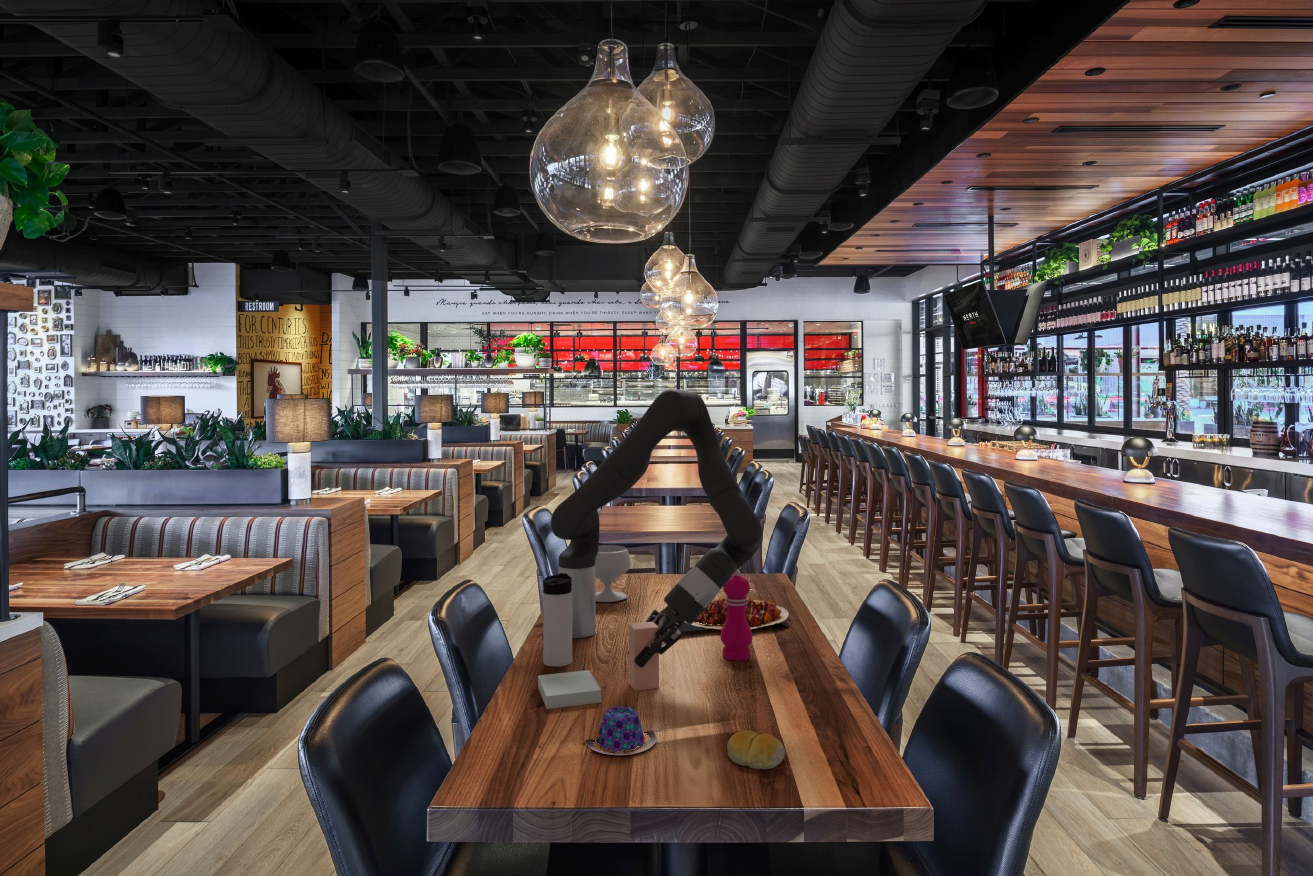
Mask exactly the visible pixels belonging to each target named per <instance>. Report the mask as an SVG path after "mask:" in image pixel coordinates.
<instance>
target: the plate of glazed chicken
mask: <svg viewBox="0 0 1313 876" xmlns="http://www.w3.org/2000/svg"><path fill="white" fill-rule="evenodd" d="M725 598H726V597H722V598H720V597H719V598H714V599H713V601H712V602H711V603H710V604H709V605H708V606H707V607H706V609H705V610H704V611H703V612H702V613H701V614H700V615H699V617H698V618H697V619H696V620H695V621H694V622H693V623H692V624H688V623H687V622H684V623H683V625H682V626H681V628H680V629H679V630H680V632H681V633H684V632H693V631H702V630H720V628H718V627H717V626H714V625H713V624H725V621H726V619H727V615H728V606H727V604H726V603H725V602H726V599H725ZM747 602H748V603H747V604H746V606H745V615H746V619H747V622H748V624H749V626H751V627H750V629H751V630H753V629H758V628H763V627H766V626H772V625H775V624H776V625H777V624H781V625H783V626H785V627H787V628H790V625H791V622H790V618H789V617H790V612H789V611H788V610H787V609H786V608H785V607H782V606H779V605H777V604H776V603H775V602H772V601H767V600H756V599H751V598H748V599H747ZM696 622H699V623H702V624H701V625H700V624H697V623H696ZM706 623H707V624H712V625H713V626H706V625H704V626H702V625H703V624H706ZM716 627H717V628H716Z"/></svg>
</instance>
